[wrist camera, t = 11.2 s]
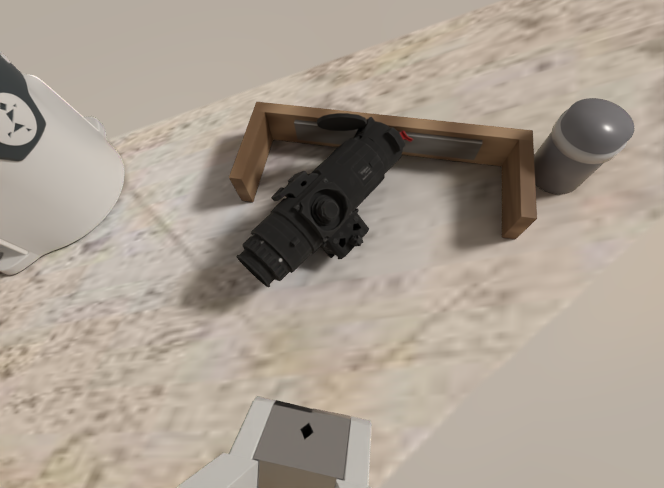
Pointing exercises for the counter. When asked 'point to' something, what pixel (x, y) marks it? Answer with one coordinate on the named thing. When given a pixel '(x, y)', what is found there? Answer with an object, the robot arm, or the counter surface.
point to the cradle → (429, 142)
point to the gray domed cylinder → (581, 144)
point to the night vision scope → (324, 200)
